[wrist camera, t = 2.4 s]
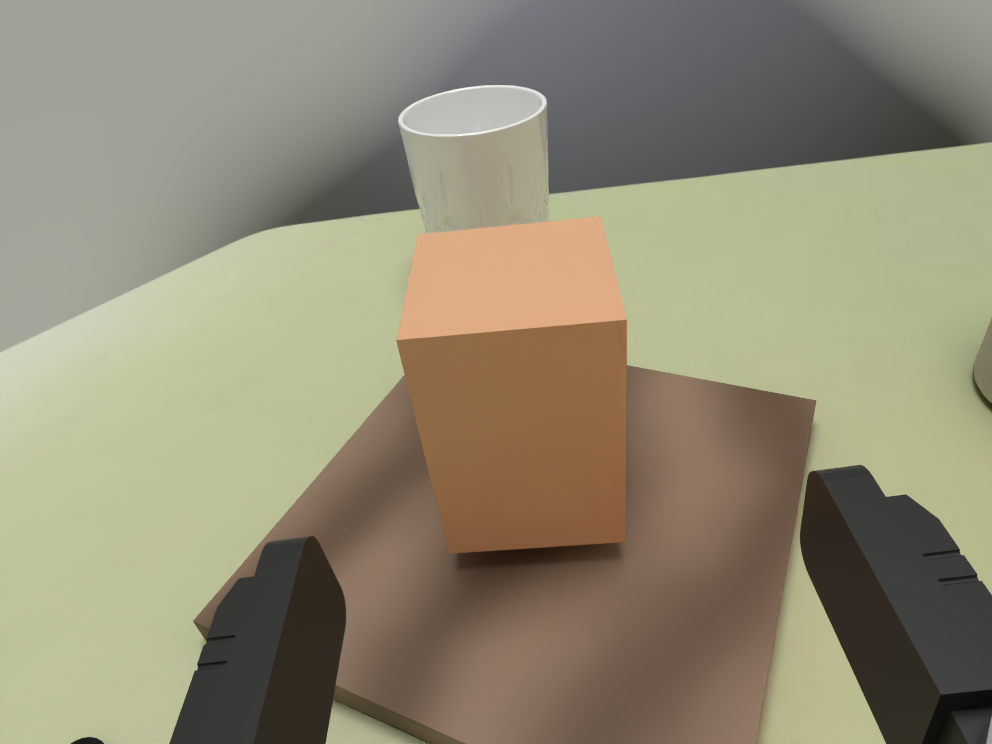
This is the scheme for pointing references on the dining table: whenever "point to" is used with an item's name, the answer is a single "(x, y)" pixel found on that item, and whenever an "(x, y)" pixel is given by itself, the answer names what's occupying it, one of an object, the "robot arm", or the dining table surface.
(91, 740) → the smartphone
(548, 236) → the tall peach pillar
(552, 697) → the post base
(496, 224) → the white cup
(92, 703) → the dining table surface
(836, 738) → the dining table surface
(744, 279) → the dining table surface
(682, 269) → the dining table surface
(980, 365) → the travel mug
